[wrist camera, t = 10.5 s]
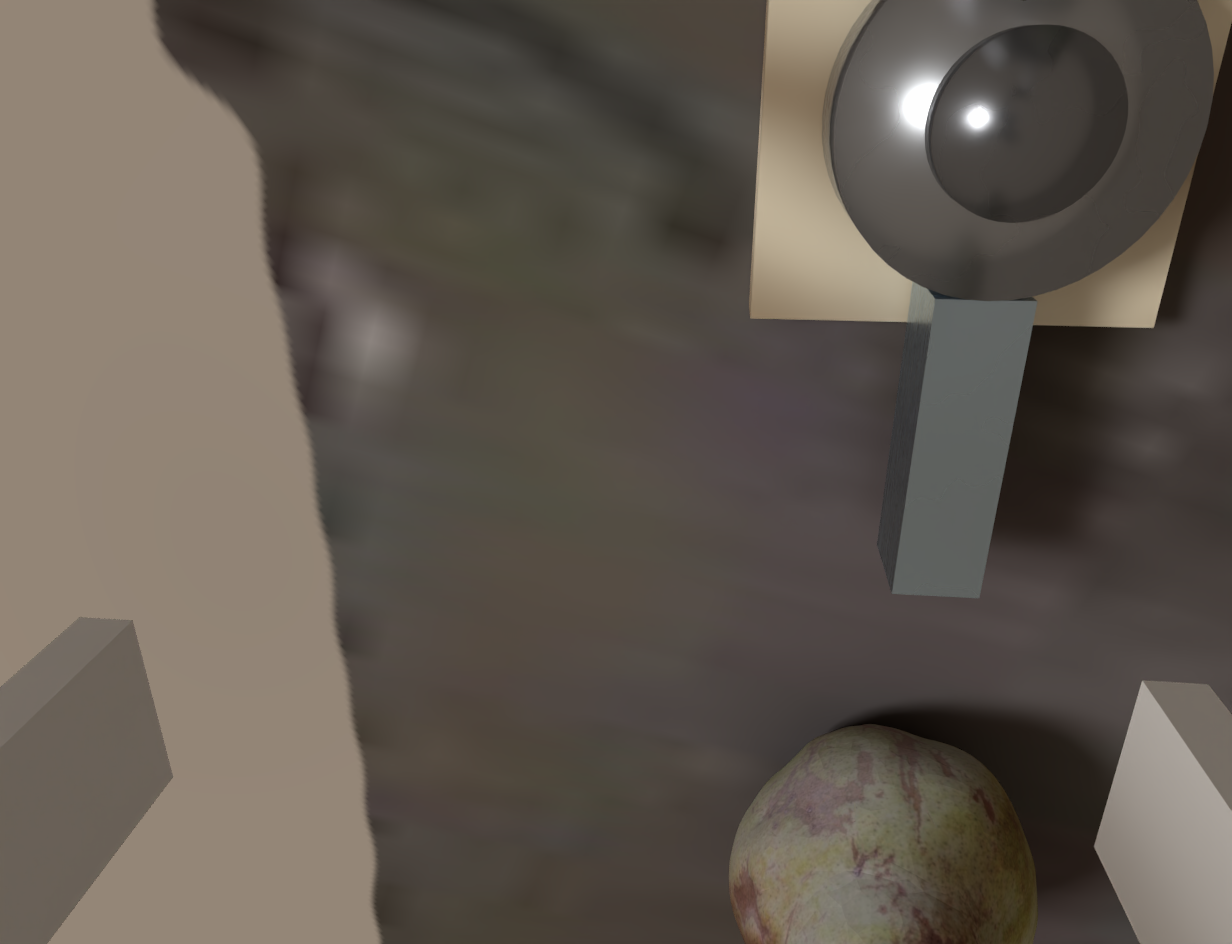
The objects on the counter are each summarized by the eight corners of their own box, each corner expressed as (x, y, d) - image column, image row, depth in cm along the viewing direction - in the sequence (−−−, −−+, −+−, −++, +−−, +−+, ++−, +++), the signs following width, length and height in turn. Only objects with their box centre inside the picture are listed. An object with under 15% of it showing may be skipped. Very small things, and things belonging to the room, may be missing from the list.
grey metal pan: (837, -67, 22) (858, -85, 18) (1193, -73, 21) (1284, -94, 18) (785, 538, 29) (794, 606, 25) (1049, 551, 28) (1095, 622, 25)
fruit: (913, 633, 32) (1009, 937, 21) (1053, 799, 34) (1203, 1147, 24) (684, 762, 36) (667, 1077, 25) (826, 904, 38) (867, 1247, 27)
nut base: (774, -128, 23) (781, -150, 20) (1241, -139, 22) (1314, -164, 19) (748, 304, 28) (751, 333, 25) (1131, 313, 26) (1177, 344, 24)
